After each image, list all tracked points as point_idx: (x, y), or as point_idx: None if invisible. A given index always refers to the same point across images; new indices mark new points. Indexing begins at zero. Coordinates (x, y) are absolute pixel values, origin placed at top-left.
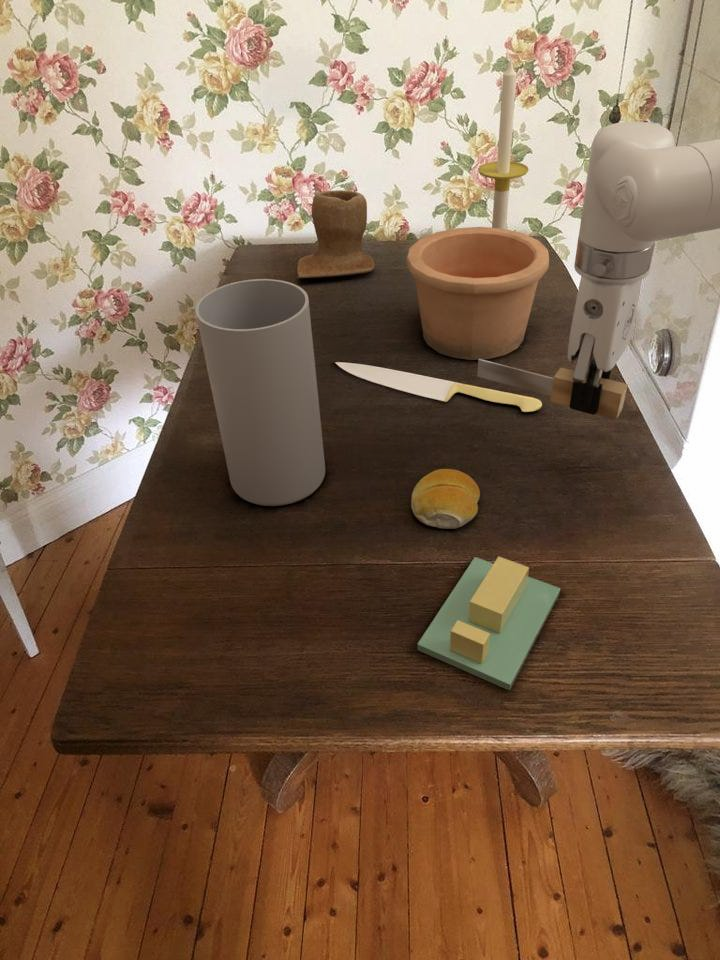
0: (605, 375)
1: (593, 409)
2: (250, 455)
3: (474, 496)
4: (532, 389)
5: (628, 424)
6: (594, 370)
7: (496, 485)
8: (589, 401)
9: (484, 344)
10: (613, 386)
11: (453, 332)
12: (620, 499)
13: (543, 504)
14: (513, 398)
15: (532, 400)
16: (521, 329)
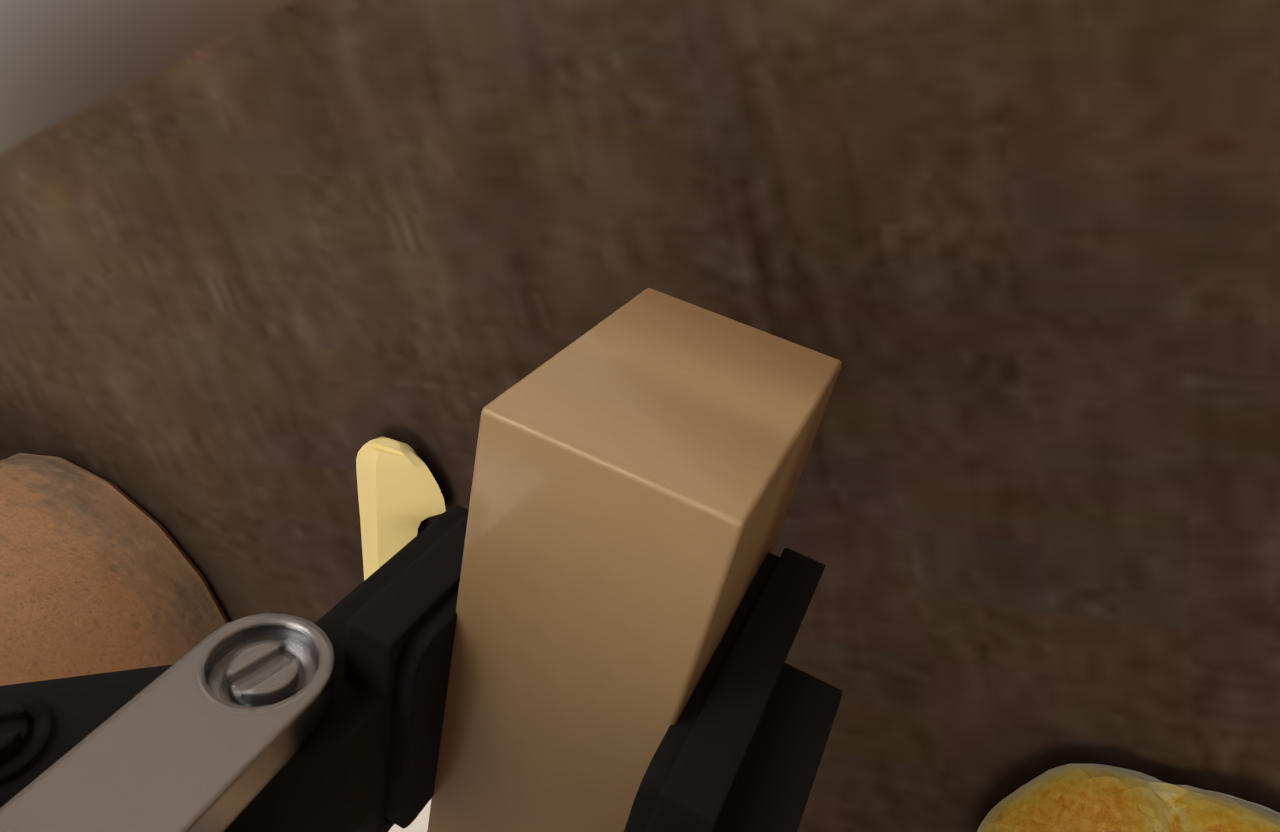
0: (428, 657)
1: (805, 612)
2: None
3: (1161, 829)
4: None
5: (361, 26)
6: (396, 757)
7: (970, 660)
8: (817, 753)
9: (160, 637)
10: (583, 583)
11: None
12: (1035, 50)
13: (1115, 480)
14: (390, 547)
15: (380, 484)
16: (26, 516)
